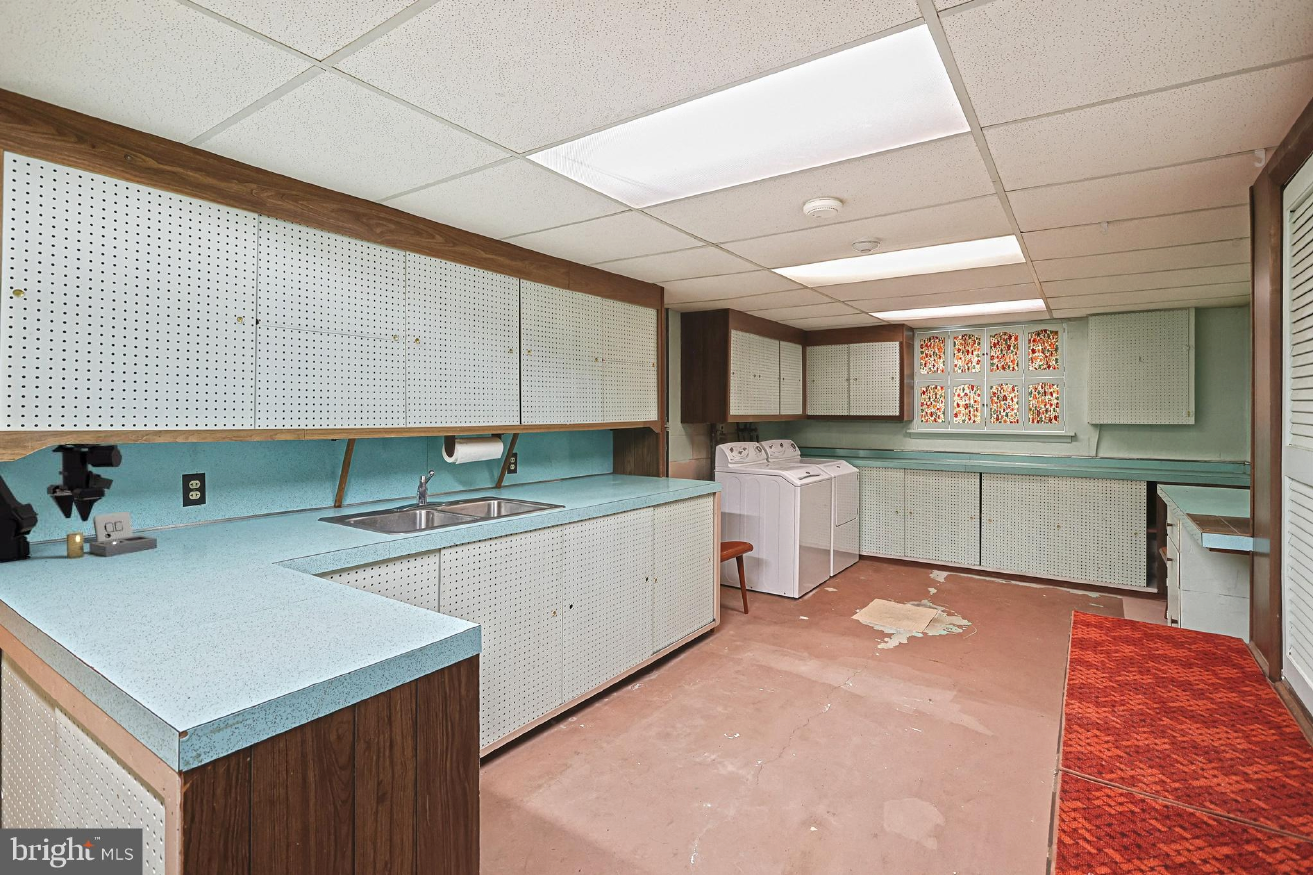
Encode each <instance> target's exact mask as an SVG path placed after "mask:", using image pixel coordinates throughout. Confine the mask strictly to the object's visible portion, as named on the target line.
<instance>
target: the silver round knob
mask: <svg viewBox="0 0 1313 875" xmlns="http://www.w3.org/2000/svg"><path fill="white" fill-rule="evenodd" d="M116 543H120V540H109V541H105V542H104V545H110V544H116Z"/></svg>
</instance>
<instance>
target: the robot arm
mask: <svg viewBox="0 0 1313 875" xmlns="http://www.w3.org/2000/svg"><path fill="white" fill-rule="evenodd" d="M118 447H119V446H118V445H117V444H108V445H107V444H106V445H105V444H101V443H100V444H65V445H59V444H58V445H57V447H55V448H53V449H52V450H51V452H52V453H61V470H59V471H58V475H60V476H61V478H62V480H61V481H62V482H61V483H54V484H53V483H52V484H50V485H48V486H47V487H46V494H47V495H49V498H51V499H52V501H53V502H54V503H55V505H56V507H57V508H58V509H59V511H60V512H61V514H62V515H63V517H64V518H65V519H71V517H72V514H73V506H74V507H75V509H76V512H77V513H78V516H79V517H80V520H81V522H87V521H88V520H89V518H90V515H91V513H92V510H93V508H94V506H95V504H96V503H97V502H98V501H100V500H102V499H103V498H105V497H106V490H109V491H110V490H111V487H112V484H113V482H114V479H112V478H108V477H107V478H106V477H102V474H100V473H95V472H94V471H92V470H90V468H89V465H90V466H91V467H92V468H119V467H120V466H121V463H122V460H123V455H122V453H121V450H120V449H119V448H118ZM38 516H39V513H38V512H36V510H34V507H33V504H31V503H30V502H28V503H25V504H24V503H21V502H20V501H19V500H18V499H17V498H16V497H15V495H14V494H13V492H12V491H11V489H10V488H9V486H8V485H7V483H6V482H5V480H4V479H3V477H2V475H1V474H0V563H6V562H12V561H17V560H25V559H31V555H30V554H31V546H30V545H31V543H30V541H29V540H28V537H27V536H29V535H30V534H31V532H32V530H33V529H34V528H36V526H37V524H38V523H39V519H38Z"/></svg>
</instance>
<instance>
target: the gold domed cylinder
mask: <svg viewBox="0 0 1313 875" xmlns="http://www.w3.org/2000/svg"><path fill="white" fill-rule="evenodd" d="M65 536H66V558H67V560H69V559H71V560H72V559H80V558H83V557H85V554H84V553H85V551H84V550H85V549H84V532H71V533H67V534H66V535H65Z"/></svg>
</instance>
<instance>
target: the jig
mask: <svg viewBox="0 0 1313 875" xmlns="http://www.w3.org/2000/svg"><path fill="white" fill-rule="evenodd" d="M112 540H120V543H116V544H110V545H104V542H105V541H109V540H105V541H99V542H97V541H93V542H89V543H88V546H89V554H93V555H98V556H102V557H106V558H107V557H113V556H119V555H124V554H130V553H137V552H142V551H147V550H148V551H149V550H154V549H157V548H158V539H157V538H155V537H152V536H151V537H149V536H147V535H146V536H145V535H133V536H131V537H125V538H118V539H112Z"/></svg>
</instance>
